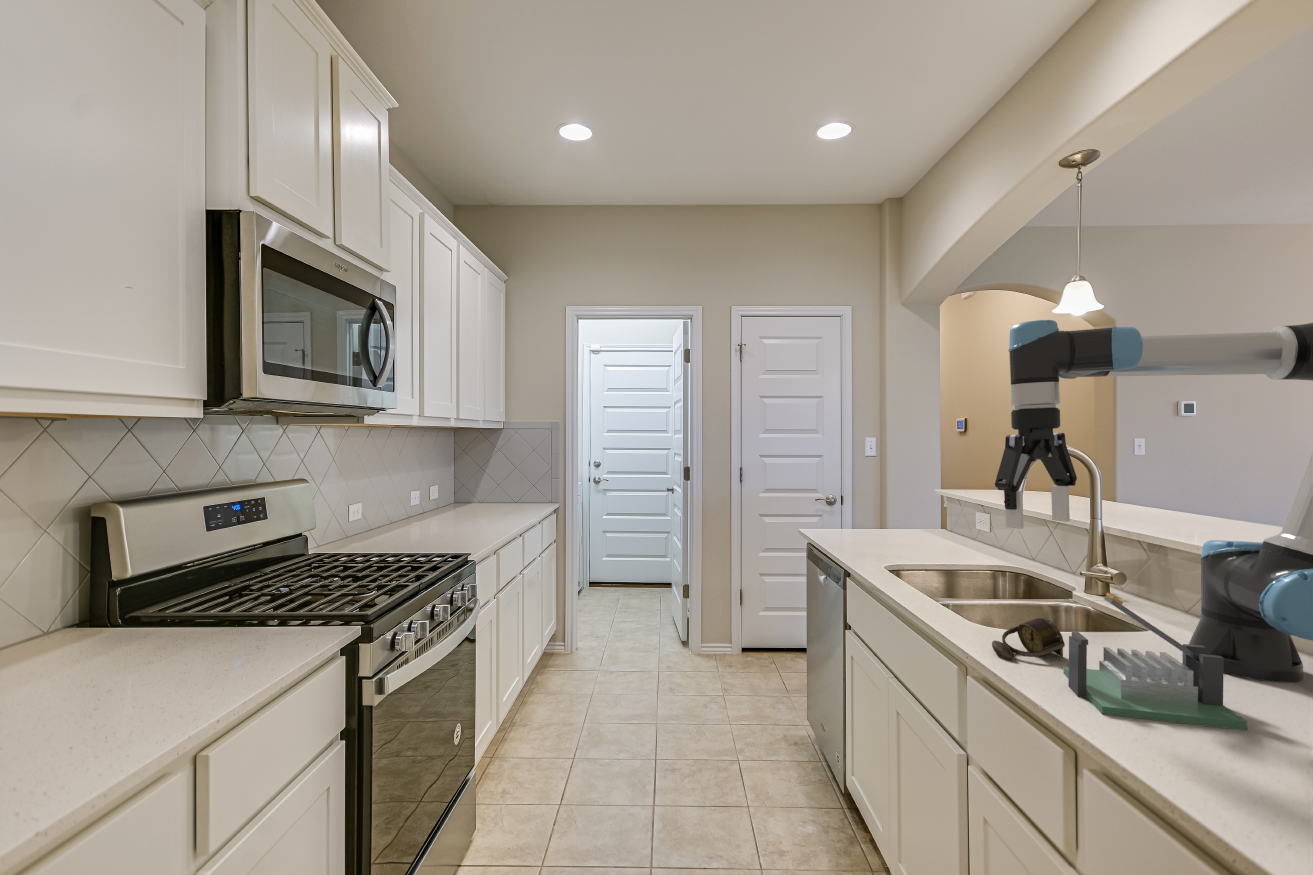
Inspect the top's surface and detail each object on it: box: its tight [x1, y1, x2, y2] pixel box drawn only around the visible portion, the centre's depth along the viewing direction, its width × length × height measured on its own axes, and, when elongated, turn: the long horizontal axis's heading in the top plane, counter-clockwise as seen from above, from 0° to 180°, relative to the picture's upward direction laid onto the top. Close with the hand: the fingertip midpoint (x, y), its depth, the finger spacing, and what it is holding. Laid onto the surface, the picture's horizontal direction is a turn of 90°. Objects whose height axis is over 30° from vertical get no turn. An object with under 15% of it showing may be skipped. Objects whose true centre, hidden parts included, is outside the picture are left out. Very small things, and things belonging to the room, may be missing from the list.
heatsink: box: [1098, 646, 1198, 706], centre depth 97 cm, size 10×8×5 cm
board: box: [1063, 666, 1248, 731], centre depth 97 cm, size 18×16×1 cm
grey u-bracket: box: [1181, 643, 1225, 706], centre depth 95 cm, size 3×6×7 cm, turn 164°
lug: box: [1068, 631, 1089, 698], centre depth 100 cm, size 1×4×9 cm, turn 164°
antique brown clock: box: [991, 616, 1066, 660], centre depth 117 cm, size 7×13×10 cm
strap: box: [1103, 592, 1199, 663], centre depth 97 cm, size 16×3×1 cm
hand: (1038, 524), depth 109 cm, fingers open, 13 cm apart
